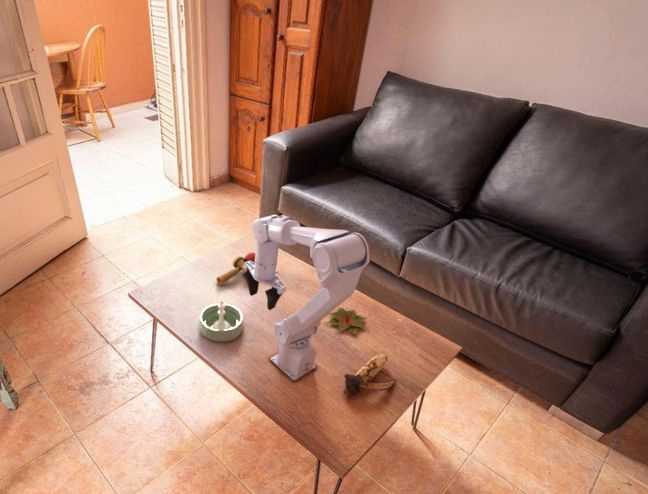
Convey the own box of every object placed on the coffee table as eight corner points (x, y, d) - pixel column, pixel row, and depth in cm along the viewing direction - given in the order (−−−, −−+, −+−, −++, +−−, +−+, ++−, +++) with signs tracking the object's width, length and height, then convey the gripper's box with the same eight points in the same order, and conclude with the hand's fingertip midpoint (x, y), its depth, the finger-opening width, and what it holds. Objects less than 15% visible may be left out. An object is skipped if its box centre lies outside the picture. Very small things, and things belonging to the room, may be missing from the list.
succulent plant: (372, 319, 129) (376, 307, 126) (358, 341, 122) (361, 329, 119) (335, 304, 134) (338, 293, 131) (319, 325, 127) (322, 313, 124)
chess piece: (227, 333, 123) (228, 306, 116) (211, 331, 123) (210, 304, 117) (231, 322, 126) (231, 296, 120) (215, 320, 127) (214, 293, 121)
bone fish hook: (365, 413, 103) (404, 374, 112) (370, 402, 100) (409, 362, 109) (334, 390, 108) (373, 354, 117) (338, 378, 105) (378, 342, 114)
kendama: (229, 294, 140) (268, 267, 147) (225, 278, 136) (265, 252, 143) (214, 286, 145) (253, 261, 153) (210, 271, 141) (249, 246, 149)
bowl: (250, 331, 124) (251, 319, 121) (216, 348, 119) (216, 337, 116) (225, 309, 132) (225, 298, 129) (192, 325, 126) (191, 313, 123)
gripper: (296, 267, 107) (290, 309, 116) (259, 243, 116) (256, 283, 125) (276, 277, 104) (271, 319, 113) (239, 251, 113) (237, 291, 121)
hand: (262, 301), depth 119 cm, fingers open, 7 cm apart
